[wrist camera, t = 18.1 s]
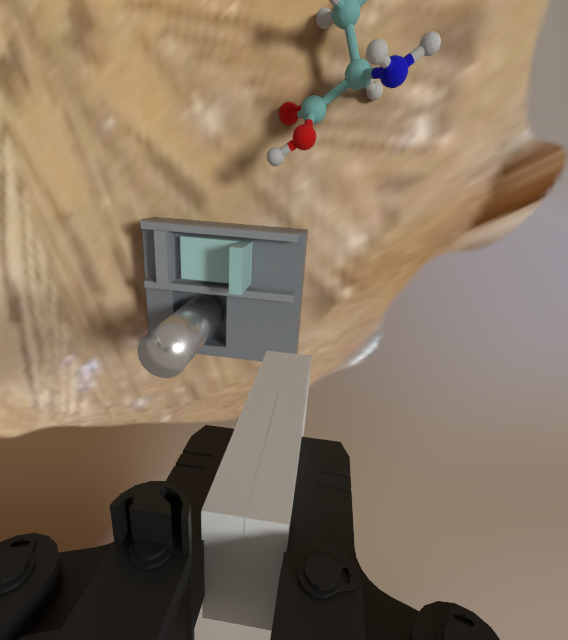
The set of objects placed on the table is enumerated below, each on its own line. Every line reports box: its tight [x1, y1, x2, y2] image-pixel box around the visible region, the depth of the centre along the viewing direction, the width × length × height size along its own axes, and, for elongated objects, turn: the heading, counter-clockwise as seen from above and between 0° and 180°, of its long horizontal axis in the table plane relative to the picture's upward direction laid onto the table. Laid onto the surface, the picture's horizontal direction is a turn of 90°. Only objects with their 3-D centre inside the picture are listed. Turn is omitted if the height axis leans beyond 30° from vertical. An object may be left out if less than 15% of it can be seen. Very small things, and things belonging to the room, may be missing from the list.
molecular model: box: [267, 0, 441, 166], centre depth 25 cm, size 12×10×10 cm
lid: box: [180, 235, 253, 295], centre depth 30 cm, size 6×4×4 cm, turn 86°
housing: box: [140, 217, 308, 361], centre depth 34 cm, size 14×12×4 cm
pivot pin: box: [138, 294, 225, 378], centre depth 31 cm, size 4×4×10 cm
